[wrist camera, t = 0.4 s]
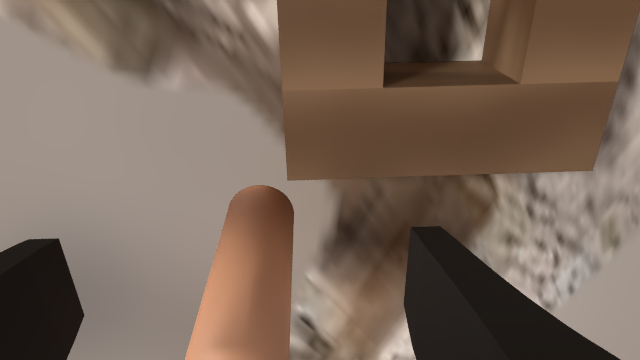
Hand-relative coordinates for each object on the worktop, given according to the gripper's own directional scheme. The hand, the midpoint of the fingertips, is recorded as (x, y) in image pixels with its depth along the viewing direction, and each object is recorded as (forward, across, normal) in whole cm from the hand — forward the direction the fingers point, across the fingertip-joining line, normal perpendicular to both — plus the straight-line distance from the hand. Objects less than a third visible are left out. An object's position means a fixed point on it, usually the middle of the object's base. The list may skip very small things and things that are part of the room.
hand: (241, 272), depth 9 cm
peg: (+10, +1, +5) cm, 11 cm away
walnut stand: (+10, -6, -4) cm, 13 cm away
